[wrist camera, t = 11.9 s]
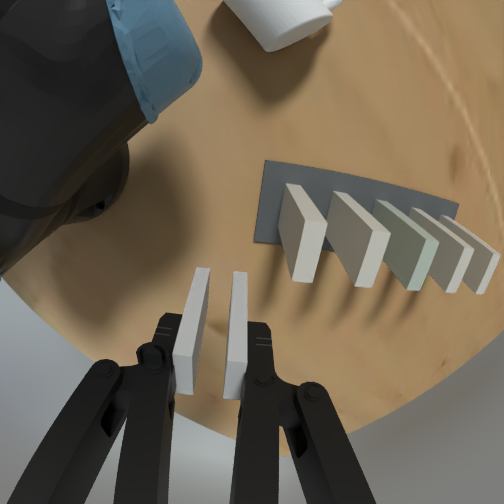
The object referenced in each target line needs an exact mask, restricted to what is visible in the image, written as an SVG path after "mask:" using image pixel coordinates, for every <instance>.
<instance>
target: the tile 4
mask: <svg viewBox="0 0 504 504" xmlns="http://www.w3.org/2000/svg"><path fill="white" fill-rule="evenodd" d="M408 217H409V218H410V219H411V220H413V221H414V222H415V223H417V224H418V225H419V226H420V227H422V228H423V229H424V230H425V231H427V232H428V233H429V234H430V235H432V236H433V237H434V238H435V239H436V240H438V241H439V245H438V248H437V250H436V253H435V256H434V258H433V261H432V263H431V266H430V268H429V271H428V274H429V275H430V276H431V277H432V278H433V279H434V280H435V281H436V283H437V284H438V285H439V286H440V287H441V288H442V289H443V290H444V292H447V293H456V291H457V289H458V287H459V284H460V282H461V280H462V278H463V276H464V273H465V271H466V269H467V267H468V264H469V262H470V259H471V257H472V255H473V252H474V250H475V249H474V248H472V247H471V246H470V245H469V244H467V243H466V242H465V241H464V240H462V239H461V238H460V237H458V236H457V235H456V234H454V233H453V232H452V231H450V230H449V229H448V228H446V227H445V226H444V225H442V224H441V223H439V222H438V221H437V220H435V219H434V218H432V217H431V216H430V215H428V214H427V213H425V212H424V211H422V210H421V209H417V208H413V207H411V209H410V212H409V216H408Z"/></svg>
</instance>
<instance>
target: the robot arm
mask: <svg viewBox="0 0 504 504" xmlns="http://www.w3.org/2000/svg"><path fill="white" fill-rule="evenodd" d="M201 71H202V56H201V53H200V50H199V48H198V46H197V43H196V41H195V39H194V37H193V35H192V33H191V31H190V29H189V27H188V25H187V23H186V21H185V19H184V17H183V16H182V14H181V12H180V10H179V8H178V7H177V5H176V3H175V2H174V0H0V281H1V276H3V275H4V274H5V273H6V272H7V271H8V270H9V269H10V268H11V267H12V266H13V265H14V264H16V263H17V262H18V261H19V260H20V259H21V258H22V257H23V256H25V255H26V254H27V253H28V252H29V251H30V250H32V249H33V248H34V247H35V246H36V245H38V244H39V243H40V242H41V241H43V240H44V239H45V238H46V237H48V236H49V235H50V234H51V233H53V232H54V231H55V230H56V229H58V228H59V227H60V226H62V225H65V224H72V223H79V222H85V221H88V220H91V219H93V218H95V217H97V216H99V215H100V214H102V213H103V212H104V211H105V210H107V209H108V208H109V207H110V206H111V205H113V203H114V202H115V201H116V200H117V199H118V197H119V196H120V194H121V192H122V190H123V188H124V186H125V183H126V180H127V176H128V170H129V150H128V145H127V141H128V140H130V139H131V138H132V137H133V136H134V135H135V134H137V133H138V132H139V131H140V130H141V129H142V128H144V127H145V126H146V125H147V124H148V123H150V124H153V123H154V122H155V121H156V120H157V118H158V115H159V114H160V113H161V112H162V111H163V110H164V109H166V108H167V107H168V106H169V105H170V104H172V103H173V102H174V101H175V100H176V99H178V98H179V97H180V96H182V95H183V94H184V93H185V92H187V91H188V90H189V89H190V88H192V87H193V86H194V85H195V83H196V82H197V81H198V79H199V77H200V74H201ZM209 279H210V268H201V267H197V268H196V271H195V275H194V278H193V281H192V285H191V288H190V292H189V295H188V299H187V302H186V306H185V309H184V313H183V315H181V314H174V313H167V312H166V313H165V314H164V315H163V316H162V317H161V318H160V320H159V323H158V325H157V328H156V331H155V334H154V337H153V339H152V342H148V343H145V344H143V345H141V346H140V347H139V348H138V349H137V351H136V354H137V359H138V363H139V364H137V365H133V366H122V367H119V365H118V364H117V363H116V362H114V361H113V360H109V359H103V360H99V361H97V362H95V363H94V364H93V365H92V367H91V368H90V370H89V371H88V372H87V374H86V375H85V377H84V378H83V380H82V381H81V382H80V384H79V385H78V387H77V388H76V390H75V391H74V392H73V394H72V395H71V397H70V398H69V400H68V401H67V403H66V404H65V406H64V407H63V409H62V410H61V412H60V413H59V415H58V417H57V418H56V420H55V421H54V423H53V424H52V426H51V427H50V429H49V431H48V432H47V434H46V435H45V437H44V439H43V440H42V442H41V443H40V445H39V447H38V449H37V450H36V452H35V453H34V455H33V457H32V458H31V460H30V462H29V464H28V465H27V467H26V469H25V471H24V473H23V474H22V476H21V478H20V480H19V482H18V483H17V485H16V487H15V489H14V491H13V493H12V495H11V497H10V498H9V500H8V502H7V504H84V503H85V501H86V498H87V497H88V494H89V492H90V490H91V488H92V486H93V484H94V482H95V480H96V477H97V476H98V474H99V471H100V469H101V467H102V465H103V463H104V461H105V459H106V457H107V455H108V453H109V451H110V449H111V447H112V445H113V443H114V441H115V439H116V437H117V435H118V433H119V431H120V430H121V427H122V426H123V424H124V422H125V420H126V418H127V420H126V426H125V430H124V436H123V441H122V447H121V453H120V459H119V465H118V472H117V479H116V486H115V494H114V503H113V504H168V488H169V469H170V452H171V440H172V427H173V417H174V407H175V399H174V395H175V390H176V393H180V394H187V395H193V394H194V387H195V380H196V374H197V368H198V362H199V355H200V349H201V343H202V337H203V332H204V326H205V320H206V314H207V309H208V295H209ZM240 398H241V404H240V409H239V414H238V428H237V437H236V447H235V456H234V467H233V475H232V485H231V494H230V504H278V493H279V426H282V427H283V429H284V432H285V435H286V439H287V442H288V445H289V448H290V452H291V455H292V458H293V461H294V464H295V468H296V471H297V474H298V477H299V480H300V483H301V486H302V490H303V493H304V496H305V499H306V502H307V504H376V502H375V500H374V497H373V495H372V492H371V490H370V488H369V485H368V483H367V481H366V478H365V476H364V474H363V471H362V469H361V467H360V465H359V462H358V460H357V458H356V455H355V453H354V451H353V448H352V446H351V444H350V442H349V439H348V437H347V435H346V433H345V430H344V428H343V426H342V423H341V421H340V419H339V417H338V414H337V412H336V410H335V408H334V405H333V403H332V401H331V399H330V396H329V394H328V392H327V390H326V389H325V388H324V387H323V386H322V385H320V384H319V383H315V382H305V383H302V384H301V385H300V386H296V385H293V384H289V383H287V382H284V381H283V380H281V379H280V378H279V377H278V376H277V374H276V372H275V369H274V359H273V349H272V340H271V330H270V328H269V327H268V325H267V324H266V323H262V322H250V321H247V272H237V271H234V273H233V282H232V291H231V300H230V309H229V321H228V334H227V348H226V362H225V376H224V392H223V399H232V400H240Z"/></svg>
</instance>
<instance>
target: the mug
mask: <svg viewBox="0 0 504 504" xmlns="http://www.w3.org/2000/svg"><path fill="white" fill-rule="evenodd" d="M223 1H224V2H225V3H226V4H227V6H228V7H229V8H230V9H231V10H232V11H233V12H234V13H235V15H236V16H237V17H238V18H239V19H240V20H241V22H242V23H243V24H244V25H245V26H246V28H247V29H248V30H249V31H250V32H251V34H252V35H253V36H254V37H255V39H256V40H257V41H258V42H259V44H260V45H261V46H262V47H263V49H264V50H265V51H266V52H273V51H277V50H279V49H282V48H284V47H287V46H289V45H291V44H293V43H295V42H297V41H299V40H301V39H303V38H305V37H307V36H309V35H311V34H312V33H314V32H316V31H318V30H319V29H321V28H322V27H324V26H325V25H327V24H328V23H329V22H330V21H331V20H332V19H333V15H332V13H331V12H330V11H332V10H334V9H336V8H337V7H338V6H340V5H341V3H342V2H343V0H323V1H321V0H223Z"/></svg>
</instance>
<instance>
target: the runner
mask: <svg viewBox="0 0 504 504" xmlns="http://www.w3.org/2000/svg"><path fill="white" fill-rule="evenodd" d="M285 183H288V184H295V185H301V187H302V188H303V189H304V191H305V192H306V193H307V195H308V196H309V198H310V199H311V200H312V202H313V203H314V204H315V206H316V207H317V209H318V210H319V212H320V213H321V214H322V216H323V217H324V219H325V220H327V215H328V211H329V207H330V202H331V198H332V193H333V191H337V192H342V193H347V194H348V195H349V196H350V197H352V198H353V199H354V200H355V201H356V202H357V203H358V204H360V205H361V206H362V207H363V208H364V209H365V210H366V211H367V212H369V213H370V214H371V215H372V211H373V207H374V204H375V200H376V199H377V200H382V201H387V202H389V203H390V204H391V205H393V206H394V207H395V208H397V209H398V210H400V211H401V212H402V213H404V214H405V215H406V216H409V212H410V209H411V207H413V208H417V209H421V210H422V211H424V212H425V213H427V214H428V215H430V216H431V217H432V218H434V219H435V220H437V221H438V222H439V218H440V215H444V216H448V217H450V218H451V219H453V220H454V219H455V216H456V213H457V210H458V206H459V204H458V203H455V202H452V201H449V200H446V199H442V198H439V197H436V196H432V195H429V194H426V193H422V192H419V191H415V190H411V189H408V188H404V187H400V186H396V185H392V184H389V183H384V182H380V181H376V180H372V179H368V178H363V177H359V176H354V175H349V174H345V173H340V172H335V171H330V170H324V169H319V168H313V167H308V166H302V165H296V164H289V163H283V162H276V161H269V160H265V167H264V174H263V181H262V187H261V194H260V201H259V208H258V215H257V221H256V228H255V235H254V241H256V242H265V243H273V244H282V241H281V237H280V233H279V229H278V223H279V217H280V211H281V206H282V200H283V194H284V188H285ZM321 249H325V250H333V251H334V249H333V248H332V246H331V244H330V243H329V241H328V239H327V237H326V236H325V237H324V241H323V245H322V248H321Z"/></svg>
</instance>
